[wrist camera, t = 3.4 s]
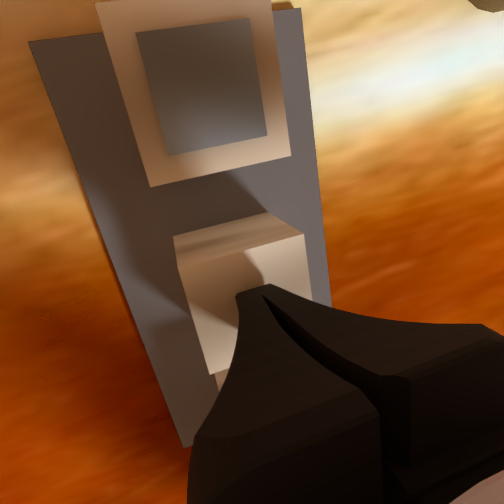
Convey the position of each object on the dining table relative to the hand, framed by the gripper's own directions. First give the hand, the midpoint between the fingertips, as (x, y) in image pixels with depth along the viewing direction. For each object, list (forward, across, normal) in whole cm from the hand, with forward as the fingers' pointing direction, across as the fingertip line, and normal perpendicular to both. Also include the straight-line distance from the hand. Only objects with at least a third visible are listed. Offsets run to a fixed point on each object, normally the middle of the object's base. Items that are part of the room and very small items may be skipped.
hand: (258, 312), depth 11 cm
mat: (+5, 0, 0) cm, 5 cm away
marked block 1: (+4, 0, -7) cm, 8 cm away
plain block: (+4, 0, 0) cm, 4 cm away
